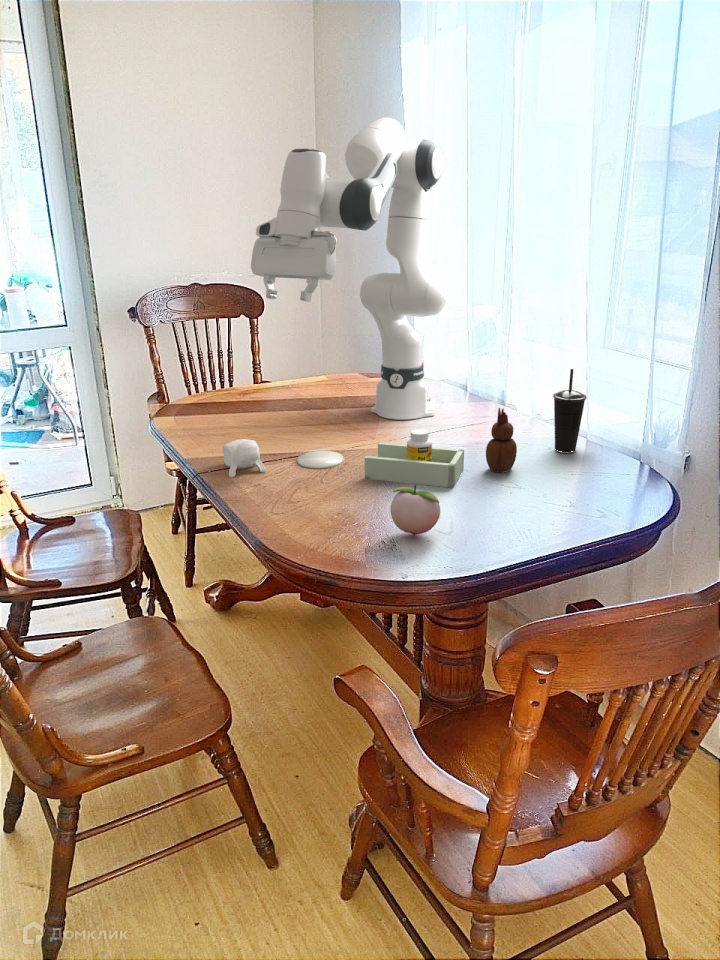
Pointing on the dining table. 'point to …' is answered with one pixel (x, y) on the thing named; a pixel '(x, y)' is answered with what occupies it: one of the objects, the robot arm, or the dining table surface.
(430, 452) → the supplement bottle
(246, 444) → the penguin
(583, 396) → the drinking cup
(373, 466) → the green rectangular tray
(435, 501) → the decorative fruit
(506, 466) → the wooden figurine
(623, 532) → the dining table surface
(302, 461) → the white round disc
